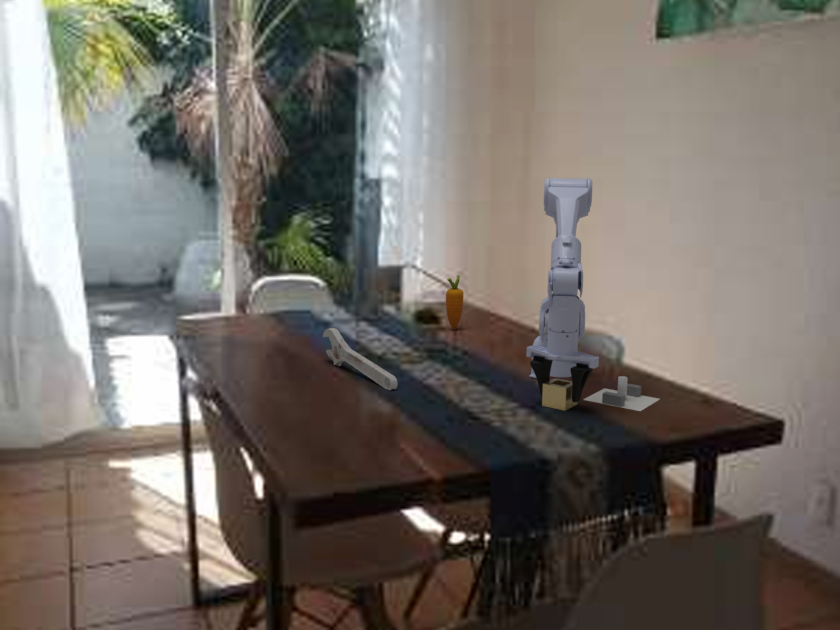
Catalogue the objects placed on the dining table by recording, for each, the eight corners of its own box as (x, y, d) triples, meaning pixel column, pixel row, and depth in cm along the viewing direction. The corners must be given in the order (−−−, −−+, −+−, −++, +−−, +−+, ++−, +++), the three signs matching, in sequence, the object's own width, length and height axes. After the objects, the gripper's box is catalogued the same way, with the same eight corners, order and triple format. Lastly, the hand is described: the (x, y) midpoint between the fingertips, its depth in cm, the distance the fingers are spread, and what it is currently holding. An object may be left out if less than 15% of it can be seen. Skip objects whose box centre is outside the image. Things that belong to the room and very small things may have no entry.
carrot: (448, 332, 240) (448, 277, 237) (442, 328, 245) (443, 274, 242) (465, 331, 242) (466, 276, 238) (459, 327, 246) (461, 273, 243)
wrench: (389, 404, 187) (321, 357, 211) (396, 403, 188) (328, 356, 212) (391, 368, 185) (322, 325, 208) (399, 367, 186) (329, 324, 209)
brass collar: (541, 408, 174) (542, 383, 173) (554, 402, 178) (555, 378, 177) (565, 413, 171) (566, 388, 170) (577, 407, 175) (578, 382, 174)
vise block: (582, 405, 178) (584, 377, 177) (604, 393, 186) (605, 367, 185) (639, 417, 171) (641, 388, 170) (659, 404, 179) (661, 377, 178)
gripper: (519, 327, 172) (517, 395, 175) (588, 338, 164) (585, 409, 167) (537, 321, 178) (534, 387, 181) (605, 332, 169) (601, 401, 172)
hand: (560, 397), depth 174 cm, fingers open, 6 cm apart
